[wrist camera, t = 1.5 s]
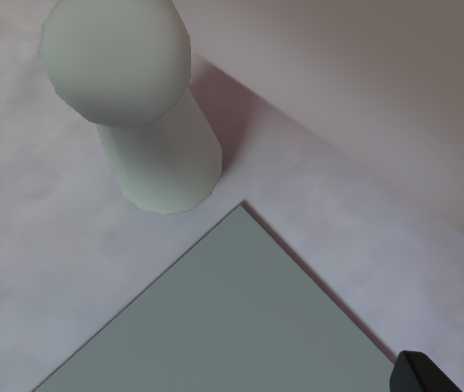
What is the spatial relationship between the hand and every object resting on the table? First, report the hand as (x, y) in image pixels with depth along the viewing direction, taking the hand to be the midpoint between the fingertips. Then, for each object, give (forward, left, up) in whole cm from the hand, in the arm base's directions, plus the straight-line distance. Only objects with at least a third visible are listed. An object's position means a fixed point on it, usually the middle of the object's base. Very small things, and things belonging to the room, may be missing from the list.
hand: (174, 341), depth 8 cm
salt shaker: (+4, +7, -14) cm, 16 cm away
